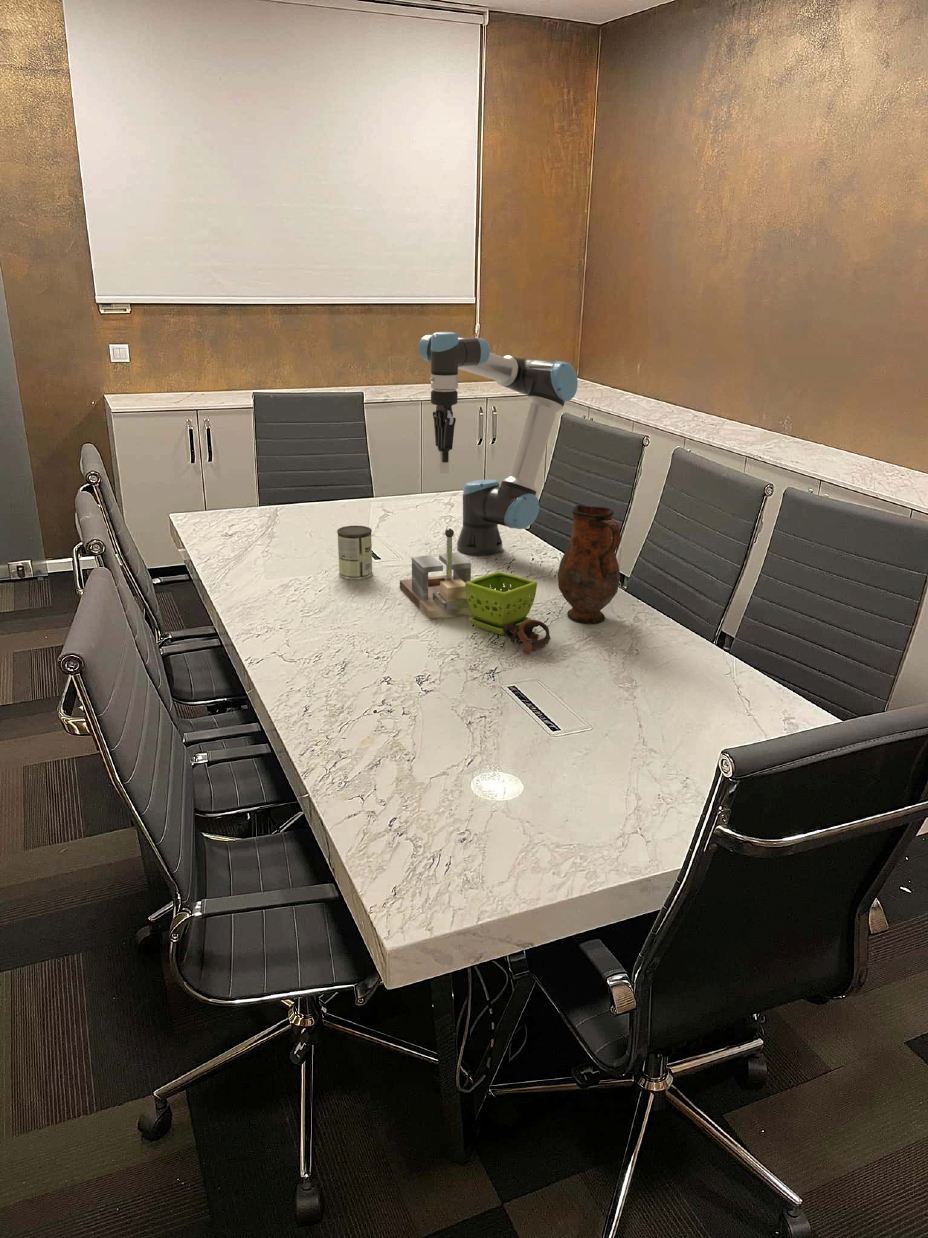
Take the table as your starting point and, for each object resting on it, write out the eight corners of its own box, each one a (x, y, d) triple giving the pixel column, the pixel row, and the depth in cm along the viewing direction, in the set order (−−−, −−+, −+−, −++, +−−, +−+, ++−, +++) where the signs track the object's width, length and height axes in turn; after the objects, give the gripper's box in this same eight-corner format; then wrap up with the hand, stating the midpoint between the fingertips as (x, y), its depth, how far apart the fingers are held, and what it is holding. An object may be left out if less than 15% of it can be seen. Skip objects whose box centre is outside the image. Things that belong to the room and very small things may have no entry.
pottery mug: (548, 642, 236) (556, 621, 230) (540, 669, 230) (548, 650, 224) (503, 627, 237) (509, 607, 231) (494, 655, 231) (501, 634, 224)
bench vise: (451, 582, 277) (451, 544, 272) (484, 613, 253) (485, 571, 249) (399, 588, 271) (399, 548, 267) (429, 619, 248) (429, 577, 244)
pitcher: (596, 603, 262) (603, 499, 251) (637, 629, 244) (646, 518, 233) (543, 610, 256) (549, 504, 245) (581, 637, 238) (589, 524, 227)
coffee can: (342, 568, 288) (341, 524, 283) (375, 570, 287) (374, 526, 282) (335, 579, 278) (333, 533, 273) (368, 580, 277) (368, 535, 272)
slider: (462, 595, 258) (463, 526, 251) (475, 606, 250) (476, 535, 243) (431, 598, 255) (432, 528, 248) (443, 610, 247) (444, 538, 240)
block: (460, 599, 256) (460, 579, 254) (468, 606, 251) (468, 585, 248) (440, 602, 254) (440, 581, 252) (447, 609, 249) (447, 588, 246)
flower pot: (537, 626, 245) (539, 581, 240) (502, 641, 235) (504, 594, 230) (497, 613, 253) (498, 569, 249) (462, 626, 244) (463, 581, 239)
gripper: (424, 387, 265) (424, 468, 273) (439, 393, 253) (438, 478, 262) (448, 386, 267) (448, 467, 276) (465, 392, 256) (463, 476, 264)
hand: (443, 472), depth 269 cm, fingers closed
